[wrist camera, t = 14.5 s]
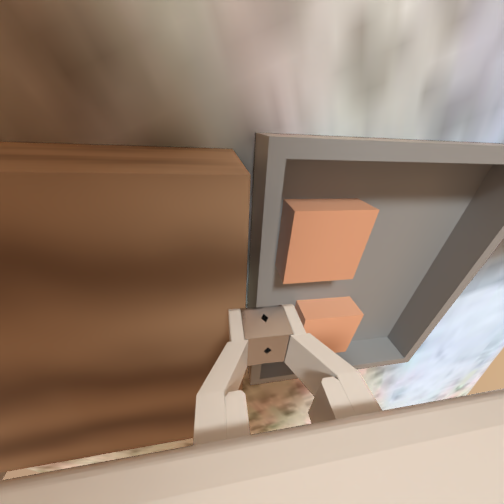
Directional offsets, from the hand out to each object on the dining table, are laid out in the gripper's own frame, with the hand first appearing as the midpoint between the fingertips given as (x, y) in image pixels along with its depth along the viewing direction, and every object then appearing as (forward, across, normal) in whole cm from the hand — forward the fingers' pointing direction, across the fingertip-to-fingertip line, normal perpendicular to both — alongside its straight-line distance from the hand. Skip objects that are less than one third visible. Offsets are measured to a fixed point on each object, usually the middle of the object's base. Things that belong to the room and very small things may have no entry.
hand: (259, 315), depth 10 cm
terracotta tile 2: (+5, -6, 0) cm, 8 cm away
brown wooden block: (+9, +10, +5) cm, 15 cm away
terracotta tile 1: (+5, -9, +10) cm, 15 cm away
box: (+9, -11, +5) cm, 15 cm away
